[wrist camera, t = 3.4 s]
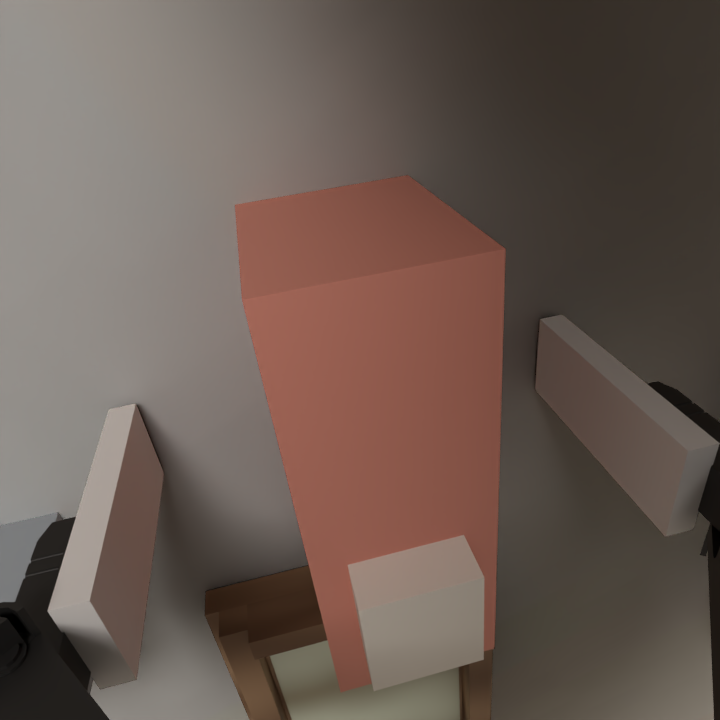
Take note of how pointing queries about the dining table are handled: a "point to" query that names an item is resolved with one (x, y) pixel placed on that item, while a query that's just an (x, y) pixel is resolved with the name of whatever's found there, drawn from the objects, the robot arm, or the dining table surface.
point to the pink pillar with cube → (384, 414)
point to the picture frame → (321, 661)
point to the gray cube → (20, 554)
